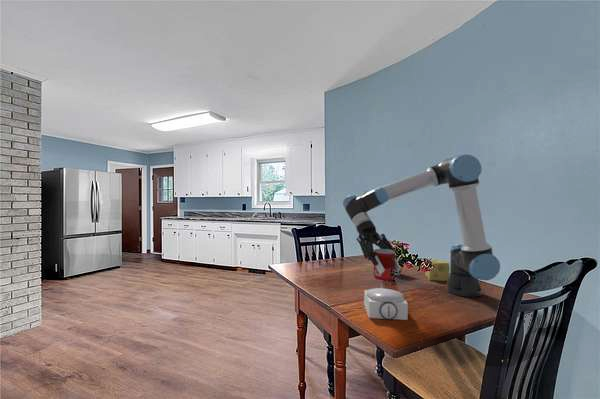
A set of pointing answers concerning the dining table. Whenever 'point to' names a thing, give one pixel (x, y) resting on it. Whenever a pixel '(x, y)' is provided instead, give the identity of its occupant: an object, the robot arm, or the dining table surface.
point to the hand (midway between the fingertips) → (390, 271)
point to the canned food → (385, 264)
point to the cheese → (438, 271)
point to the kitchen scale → (385, 304)
